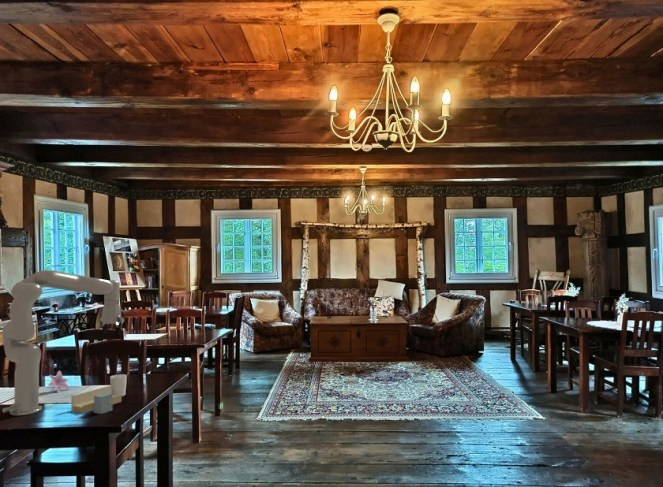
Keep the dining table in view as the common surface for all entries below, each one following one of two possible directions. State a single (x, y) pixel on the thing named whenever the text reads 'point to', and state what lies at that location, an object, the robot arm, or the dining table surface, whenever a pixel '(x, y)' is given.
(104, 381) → the dining table surface
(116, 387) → the white cup
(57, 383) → the lily
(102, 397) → the cabinet
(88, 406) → the cleat board
